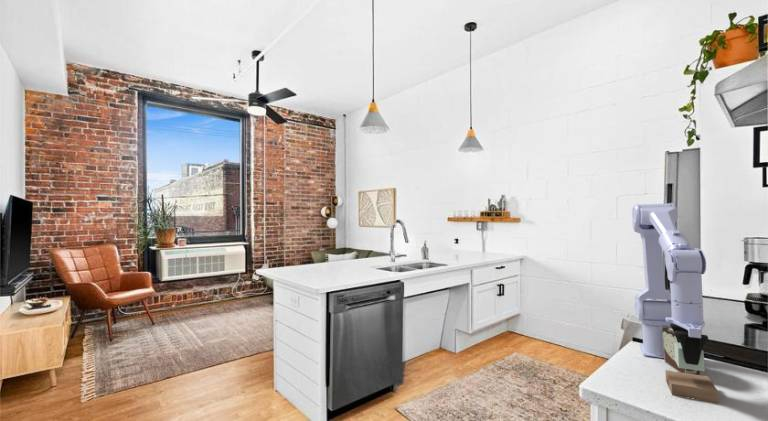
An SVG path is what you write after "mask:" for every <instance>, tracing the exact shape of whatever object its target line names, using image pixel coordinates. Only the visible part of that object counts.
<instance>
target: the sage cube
mask: <svg viewBox="0 0 768 421" xmlns="http://www.w3.org/2000/svg"><path fill="white" fill-rule="evenodd" d="M674 346H675V362H676V363H677V365H678V367H679V368H684V369H691V370H698V371H699V372H705V355H704V354H705V353H704V352H705V351H704V350H703V349H702V351H701V355H700V360H699V363H698V365H693V364H687V363H686V362H685V359H684V355H683V351H682V347H681V343H678V342H674Z"/></svg>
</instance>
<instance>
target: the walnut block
mask: <svg viewBox="0 0 768 421" xmlns="http://www.w3.org/2000/svg"><path fill="white" fill-rule="evenodd" d="M665 382H666V384H667V386H668V389H669V392H670V393H671V396H674V395H675V397H680V398H686V397H689V398H688V399H691V398H694V399H693V400H697V399H698V401H704V402H708V403H709V402H710V403H715V404H719V402H720V401H719V390H718V389H717V388H716V386H715V385H714V383H713V381H712V380H711V378H710V377H709V376H708V375H703V374H702V375H701V374H699V375H695V374H688V373H681V372H678V371H675V370H666V369H665Z"/></svg>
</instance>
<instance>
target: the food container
mask: <svg viewBox="0 0 768 421" xmlns="http://www.w3.org/2000/svg"><path fill="white" fill-rule="evenodd" d="M661 332H662V338H663V348H664V358H663V359H664V363H665V364H667V365H668V366H669V367H671V368H672V369H673V370H674V371H675V372H681V373H688V374H695V375H700V371H698V370H691V369H684V368H679V367H678V365H677V363H676V362H675V346H674V342H677V339H676V336H675V334H674V331H673V329H672V328H671V326H668V325H661Z"/></svg>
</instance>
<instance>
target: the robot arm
mask: <svg viewBox="0 0 768 421" xmlns="http://www.w3.org/2000/svg"><path fill="white" fill-rule="evenodd" d="M678 212H679V211H678V208H677V206H676V205H675V204H674V202H668V203H648V204H645V203H644V204H639V203H636V204H634V205H633V206H632V210H631V218H632V229H633V232H635V233H638V235H639V234H640V238H641V244H642V256H643V257H642V258H643V268H644V269H643V270H644V280H645V282H644V283H645V288H644V289H642V290H641V291H640V292H637V293H636V295H635V302H634V312H635V315H636V318H637V320H638V321H640V322H642V327H641V328H642V343H640V344H639V347H640V349H641V352H642V355H643V356H645V357H651V358H659V359H665V358H664V348H663V338H662V332H661V325H668V326H671V328H672V329H673V331H674V334H675V336H676V339H677V342H678V343H681V347H682V351H683V355H684V359H685V362H686V363H687V364H693V365H698V363H699V360H700V355H701V351H702V350H703V348H704V346H705V345H706V343H707V342H708V340H709V336H708V335H707V334H702V330H703V328H704V327H705V326H706V322H705V321H704V302H703V300H704V299H703V281H702V280H703V279H702V275H704V274H705V273H706V270H707V260H706V256H705V253H704V251H703V250H702V249H701V248H697V247H694V246H693V245H692V244H691V242H690V240H689V239H688V237H687V235H686V234H685V233H684V232H683V231H680V230H678V229H677V226H676V223H677V221H678ZM663 253H664V254H663ZM663 255H664V256H665V258H663V257H664V256H663ZM664 261H665V262H664ZM664 264H665V269H666V272H667V280H669V282H670V283H669V284H670V292H669V291H668V290H666V280H665V270H664Z"/></svg>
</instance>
